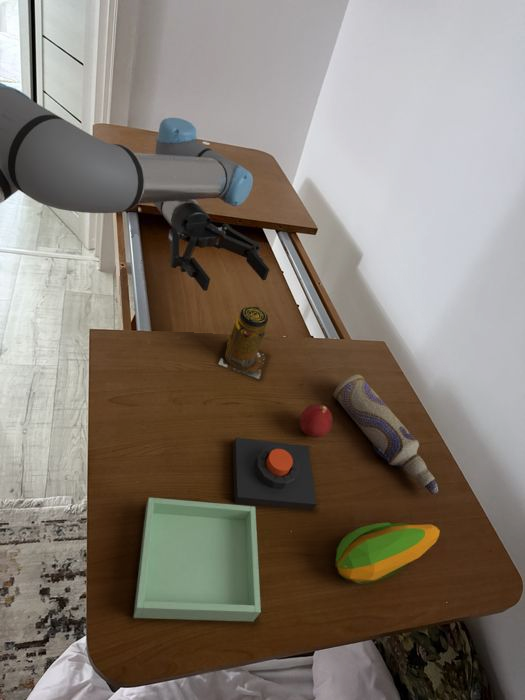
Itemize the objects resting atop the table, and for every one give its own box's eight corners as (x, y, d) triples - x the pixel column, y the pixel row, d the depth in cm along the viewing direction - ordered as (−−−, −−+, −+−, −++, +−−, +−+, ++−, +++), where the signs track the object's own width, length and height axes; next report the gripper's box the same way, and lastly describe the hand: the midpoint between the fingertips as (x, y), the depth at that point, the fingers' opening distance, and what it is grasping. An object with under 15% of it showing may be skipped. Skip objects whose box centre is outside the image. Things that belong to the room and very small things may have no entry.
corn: (336, 529, 71) (437, 495, 81) (316, 549, 77) (413, 515, 86) (362, 582, 67) (465, 540, 77) (338, 599, 73) (437, 558, 82)
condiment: (228, 341, 104) (242, 297, 96) (266, 356, 104) (284, 313, 96) (217, 364, 98) (232, 319, 90) (258, 380, 98) (276, 336, 91)
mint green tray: (133, 618, 63) (136, 607, 61) (145, 510, 74) (148, 497, 71) (253, 622, 67) (260, 612, 64) (248, 518, 77) (255, 506, 75)
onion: (296, 416, 95) (311, 388, 89) (325, 426, 95) (341, 399, 90) (291, 440, 90) (306, 412, 85) (321, 450, 91) (338, 424, 85)
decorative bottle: (325, 400, 100) (338, 377, 95) (352, 390, 104) (365, 368, 100) (413, 510, 87) (433, 490, 82) (440, 494, 91) (459, 474, 87)
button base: (233, 504, 78) (240, 491, 76) (232, 444, 86) (238, 431, 83) (312, 510, 81) (321, 498, 79) (304, 453, 89) (311, 440, 86)
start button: (266, 474, 79) (269, 468, 78) (265, 453, 82) (268, 447, 81) (290, 477, 80) (294, 471, 79) (288, 456, 83) (291, 450, 82)
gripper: (133, 205, 97) (183, 272, 87) (240, 198, 111) (294, 256, 101) (129, 238, 102) (176, 305, 92) (232, 227, 116) (282, 285, 106)
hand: (237, 279), depth 96 cm, fingers open, 13 cm apart
